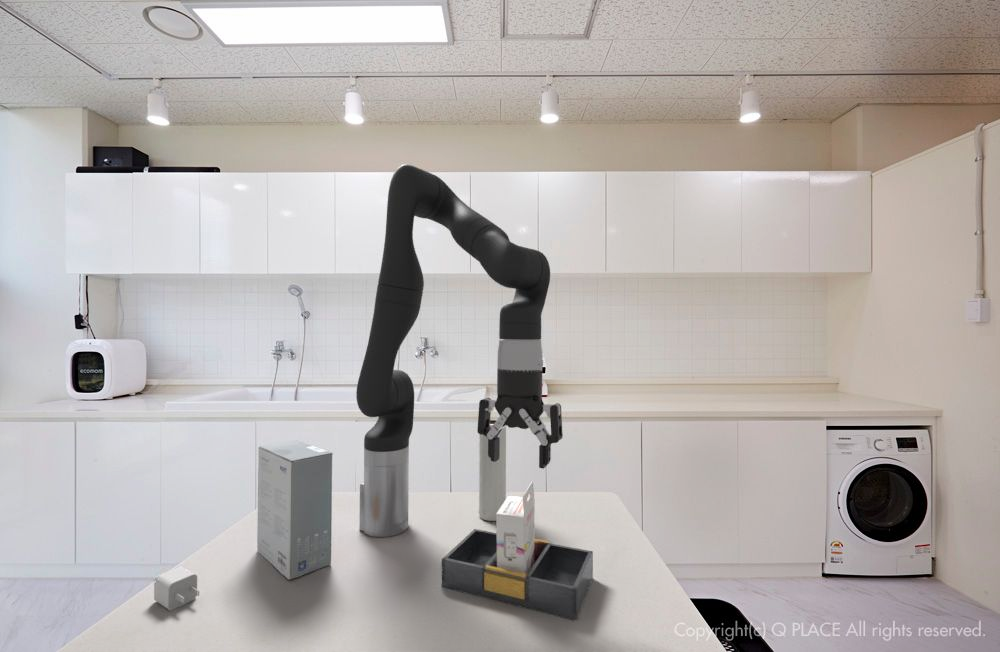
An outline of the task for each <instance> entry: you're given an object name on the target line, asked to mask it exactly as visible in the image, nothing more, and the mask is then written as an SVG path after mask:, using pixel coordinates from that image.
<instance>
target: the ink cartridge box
mask: <svg viewBox="0 0 1000 652" xmlns="http://www.w3.org/2000/svg"><path fill="white" fill-rule="evenodd" d="M534 488H535V487H534V483H533V481H531V482H530V484H529V485H528V487H527V488H526V490H525V492H524V494H523V495H522V496H517V495H516V496H515V495H514V496H513V495H508V496H507V497H506V500H505V502H504V503H503V505H502V506H501V507H500V509H499V510H498V512H497V513H496V521H495V525H496V533H497V567H498V568H503V569H507V570H512V571H516V572H521V573H525V574H528V573H529V571H530V570H531V568H532V567H533V565H534V539H535V511H536V509H535V490H534Z"/></svg>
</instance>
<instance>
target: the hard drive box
mask: <svg viewBox="0 0 1000 652" xmlns="http://www.w3.org/2000/svg"><path fill="white" fill-rule="evenodd" d="M257 465H258V469H257V471H258V473H257V478H258V479H257V533H256V535H257V539H256V540H257V541H256V542H257V546H256V547H257V552H258V553H259V554H260V555H261V556H263V558H264V559H265V560H267V562H269V563H270V564H271V565H272V566H273V567H274V568H276V570H277V571H278V572H279V573H280V574H281V575H282V576H284V577H285V578H286V579H287V580H288V581H289V580H294V579H296V578H298V577H301V576H304V575H306V574H308V573H311V572H314V571H317V570H319V569H322V568H324V567H326V566H330V565H332V525H333V524H332V520H333V519H332V516H333V515H332V513H333V512H332V511H333V510H332V507H333V506H332V505H333V503H332V502H333V501H332V499H333V498H332V497H333V496H332V495H333V493H332V492H333V452H331V451H329V450H326V449H323V448H320V447H317V446H315V445H311V444H309V443H307V442H306V443H305V442H302V441H299V440H296V439H295V440H290V441H285V442H277V443H273V444H267V445H260V446H259V447H258V463H257Z"/></svg>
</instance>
